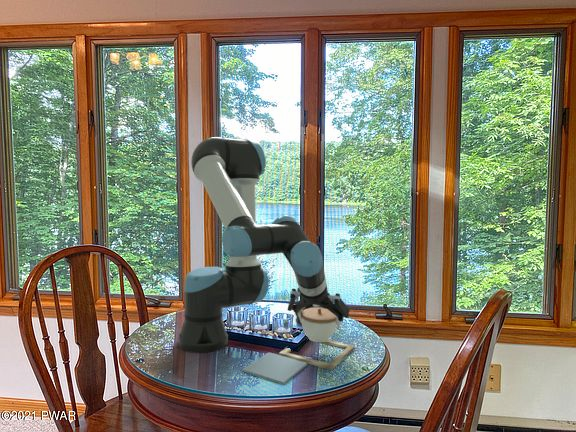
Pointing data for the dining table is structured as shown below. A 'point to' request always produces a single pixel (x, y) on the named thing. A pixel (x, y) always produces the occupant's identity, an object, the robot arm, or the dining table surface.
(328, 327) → the lidded jar
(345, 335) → the dining table surface
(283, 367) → the rubber mat
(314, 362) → the birch frame
